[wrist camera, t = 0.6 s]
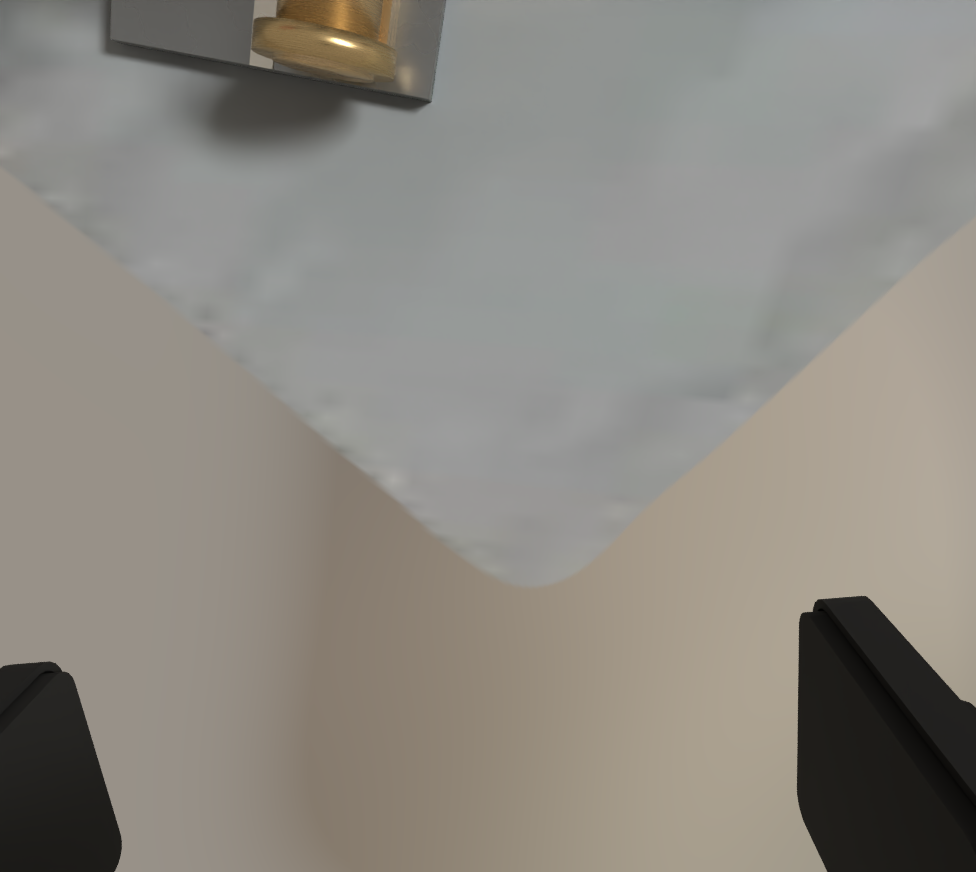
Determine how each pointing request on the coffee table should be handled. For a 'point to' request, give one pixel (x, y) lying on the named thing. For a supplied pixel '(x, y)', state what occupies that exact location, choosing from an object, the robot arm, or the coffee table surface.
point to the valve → (298, 37)
